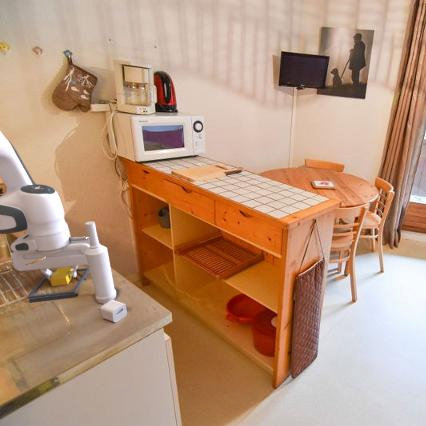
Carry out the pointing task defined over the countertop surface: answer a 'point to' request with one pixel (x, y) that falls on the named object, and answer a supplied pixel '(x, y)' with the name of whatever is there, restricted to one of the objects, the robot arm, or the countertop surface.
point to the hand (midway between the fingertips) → (63, 277)
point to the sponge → (61, 277)
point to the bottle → (99, 267)
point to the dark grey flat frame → (55, 297)
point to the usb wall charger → (113, 311)
